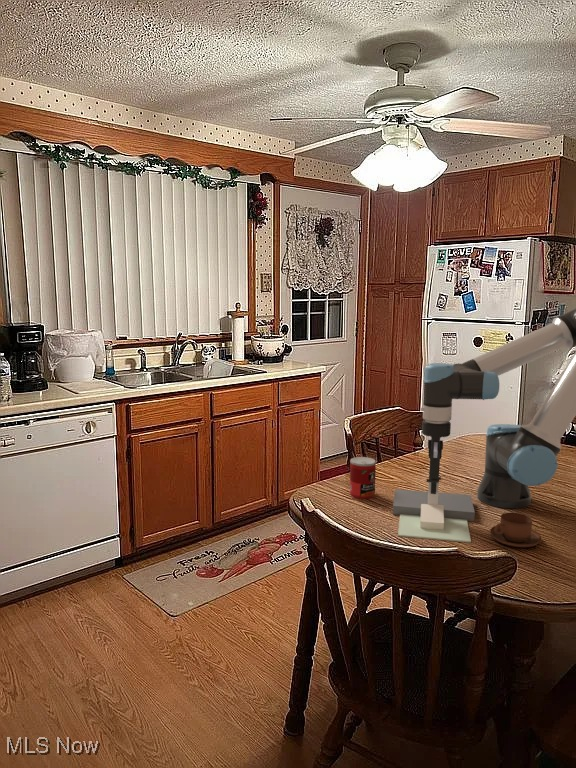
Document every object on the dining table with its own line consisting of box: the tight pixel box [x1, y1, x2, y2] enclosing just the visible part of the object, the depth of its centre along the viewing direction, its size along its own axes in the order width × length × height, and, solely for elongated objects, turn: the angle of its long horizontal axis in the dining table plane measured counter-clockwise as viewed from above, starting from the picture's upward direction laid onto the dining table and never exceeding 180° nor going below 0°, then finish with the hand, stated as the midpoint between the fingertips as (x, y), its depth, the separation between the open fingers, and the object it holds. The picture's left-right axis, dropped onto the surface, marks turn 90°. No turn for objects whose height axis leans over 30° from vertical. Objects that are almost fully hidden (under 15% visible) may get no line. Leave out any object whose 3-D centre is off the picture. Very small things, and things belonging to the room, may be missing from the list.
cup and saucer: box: [489, 512, 542, 548], centre depth 146 cm, size 12×12×6 cm
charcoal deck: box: [392, 488, 476, 522], centre depth 167 cm, size 22×14×2 cm, turn 77°
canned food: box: [349, 456, 377, 500], centre depth 178 cm, size 8×8×11 cm
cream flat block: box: [420, 504, 444, 530], centre depth 156 cm, size 9×6×2 cm, turn 166°
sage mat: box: [397, 514, 472, 543], centre depth 154 cm, size 18×14×1 cm
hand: (432, 503), depth 160 cm, fingers closed
